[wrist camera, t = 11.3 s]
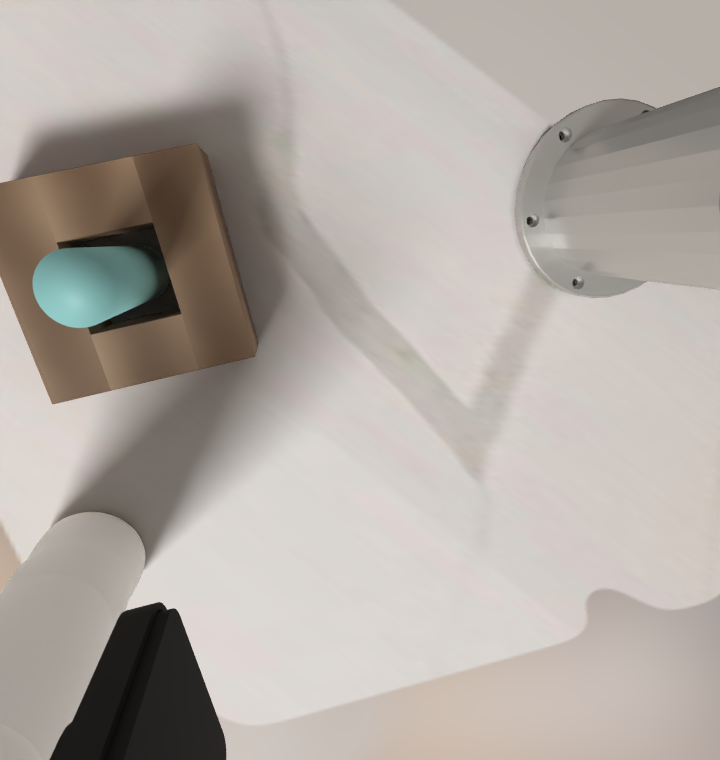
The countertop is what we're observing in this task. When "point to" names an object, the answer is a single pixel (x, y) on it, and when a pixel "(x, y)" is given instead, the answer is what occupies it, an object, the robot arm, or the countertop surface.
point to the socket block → (117, 216)
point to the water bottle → (60, 626)
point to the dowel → (97, 282)
